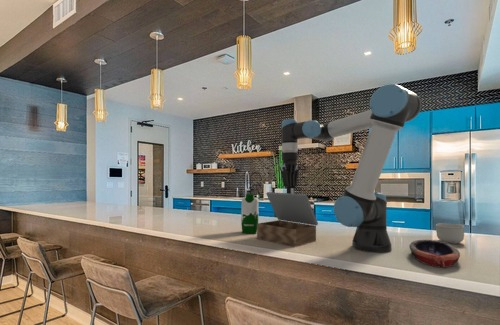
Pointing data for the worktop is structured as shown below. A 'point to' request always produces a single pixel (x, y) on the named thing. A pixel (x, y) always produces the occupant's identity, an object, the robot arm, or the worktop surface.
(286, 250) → the worktop surface
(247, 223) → the milk carton
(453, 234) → the teacup
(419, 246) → the dish
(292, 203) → the lid
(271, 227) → the walnut box
